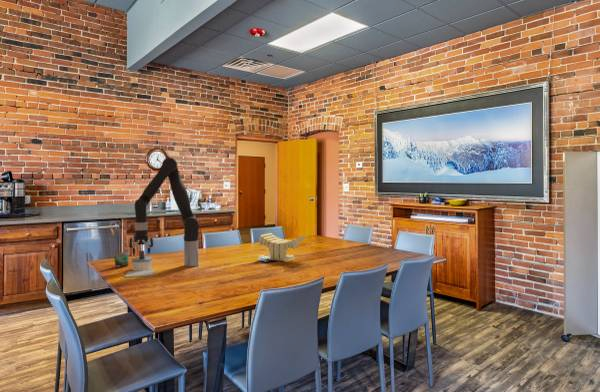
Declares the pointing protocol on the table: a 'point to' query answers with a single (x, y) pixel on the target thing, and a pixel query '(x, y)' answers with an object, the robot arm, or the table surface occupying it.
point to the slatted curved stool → (279, 246)
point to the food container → (121, 259)
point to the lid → (141, 257)
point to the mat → (140, 273)
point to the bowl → (141, 266)
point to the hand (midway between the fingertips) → (141, 253)
